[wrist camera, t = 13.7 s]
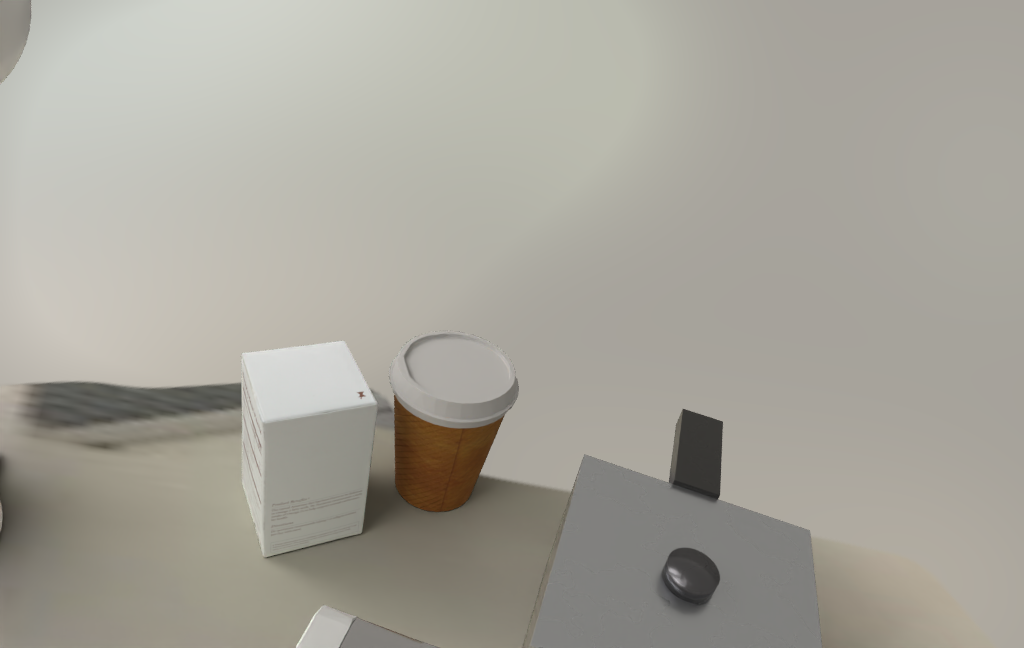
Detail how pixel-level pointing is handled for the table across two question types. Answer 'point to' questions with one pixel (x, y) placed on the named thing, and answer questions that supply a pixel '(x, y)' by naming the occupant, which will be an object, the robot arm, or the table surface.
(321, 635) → the robot arm
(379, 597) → the table surface
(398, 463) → the disposable coffee cup
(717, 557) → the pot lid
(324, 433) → the supplement box
